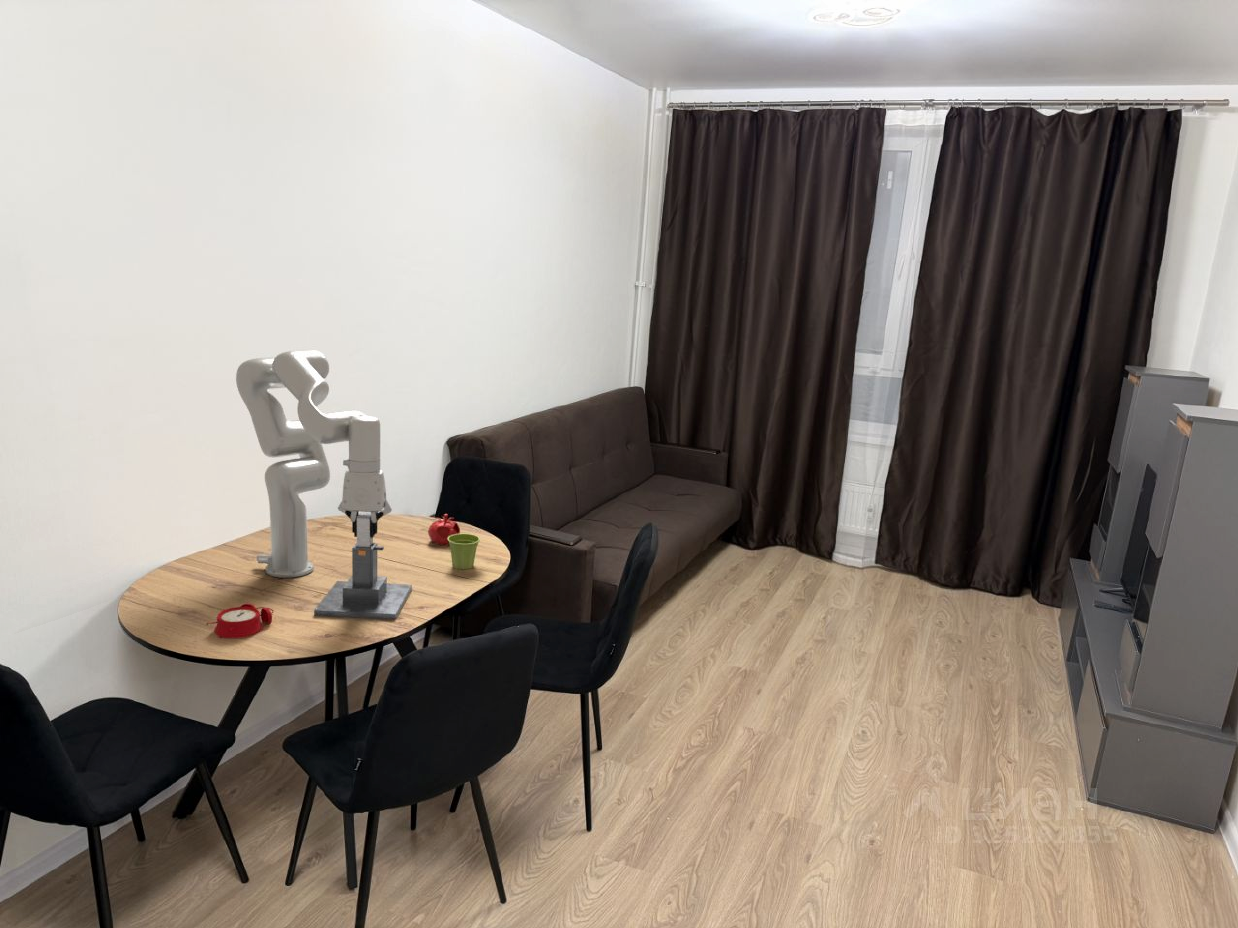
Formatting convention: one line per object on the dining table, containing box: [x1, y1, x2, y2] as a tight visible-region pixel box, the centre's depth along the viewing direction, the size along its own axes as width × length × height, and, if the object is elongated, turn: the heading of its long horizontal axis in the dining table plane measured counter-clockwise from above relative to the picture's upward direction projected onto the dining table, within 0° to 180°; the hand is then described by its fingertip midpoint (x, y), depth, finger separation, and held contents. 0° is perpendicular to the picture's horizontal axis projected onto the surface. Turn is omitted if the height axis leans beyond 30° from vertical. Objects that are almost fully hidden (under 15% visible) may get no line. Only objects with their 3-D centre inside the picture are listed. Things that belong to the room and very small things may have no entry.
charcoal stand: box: [313, 542, 413, 620], centre depth 221 cm, size 20×20×16 cm
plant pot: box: [448, 533, 481, 570], centre depth 252 cm, size 9×9×9 cm
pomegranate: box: [427, 513, 461, 546], centre depth 272 cm, size 10×10×9 cm
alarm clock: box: [206, 603, 275, 639], centre depth 204 cm, size 10×6×15 cm
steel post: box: [356, 511, 374, 548], centre depth 220 cm, size 3×3×17 cm
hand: (364, 535), depth 219 cm, fingers closed on steel post, 3 cm apart
